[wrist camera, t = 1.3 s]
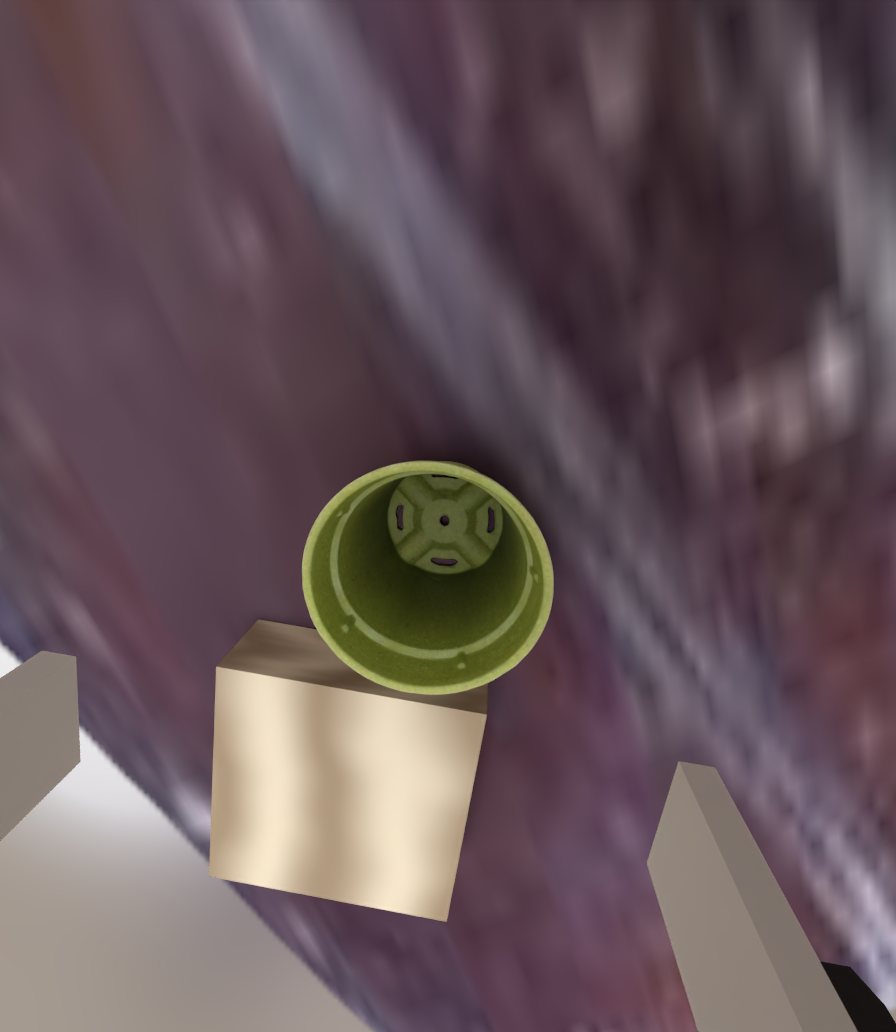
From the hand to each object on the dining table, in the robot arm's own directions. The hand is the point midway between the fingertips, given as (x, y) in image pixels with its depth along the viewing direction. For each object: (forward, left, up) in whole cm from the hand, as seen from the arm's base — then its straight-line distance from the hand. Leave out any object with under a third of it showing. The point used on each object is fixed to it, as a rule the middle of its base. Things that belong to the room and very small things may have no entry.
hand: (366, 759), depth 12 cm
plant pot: (0, 0, -18) cm, 18 cm away
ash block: (+3, +14, -18) cm, 23 cm away
